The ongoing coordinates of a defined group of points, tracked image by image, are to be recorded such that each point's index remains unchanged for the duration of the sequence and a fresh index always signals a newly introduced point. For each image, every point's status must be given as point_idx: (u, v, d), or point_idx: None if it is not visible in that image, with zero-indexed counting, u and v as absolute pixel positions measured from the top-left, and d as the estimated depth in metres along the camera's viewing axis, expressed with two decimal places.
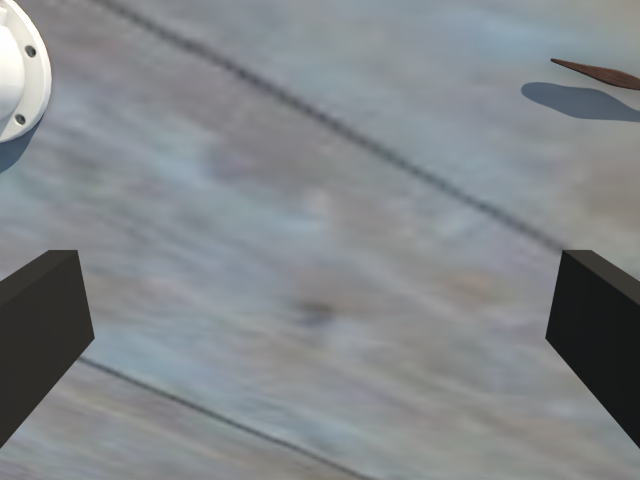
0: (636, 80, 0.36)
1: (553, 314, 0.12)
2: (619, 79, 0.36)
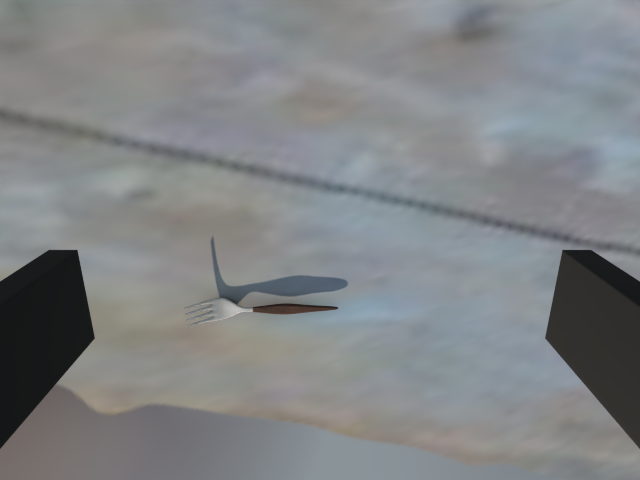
0: (270, 312, 0.48)
1: (553, 314, 0.12)
2: (283, 310, 0.48)
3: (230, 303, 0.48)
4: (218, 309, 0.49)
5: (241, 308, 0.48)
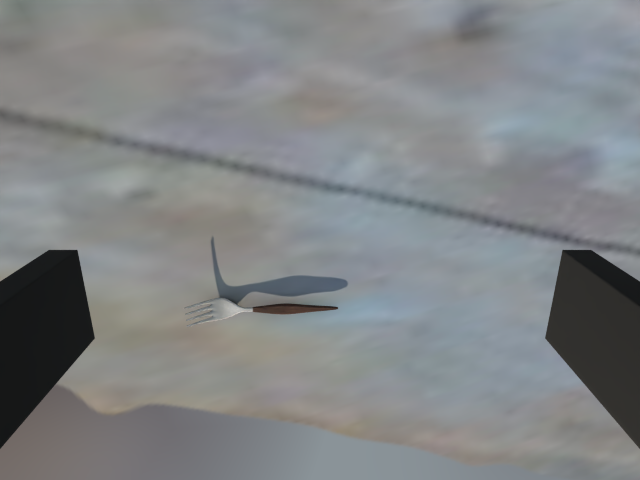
0: (270, 312, 0.48)
1: (553, 314, 0.12)
2: (283, 310, 0.48)
3: (230, 303, 0.48)
4: (218, 309, 0.49)
5: (241, 308, 0.48)
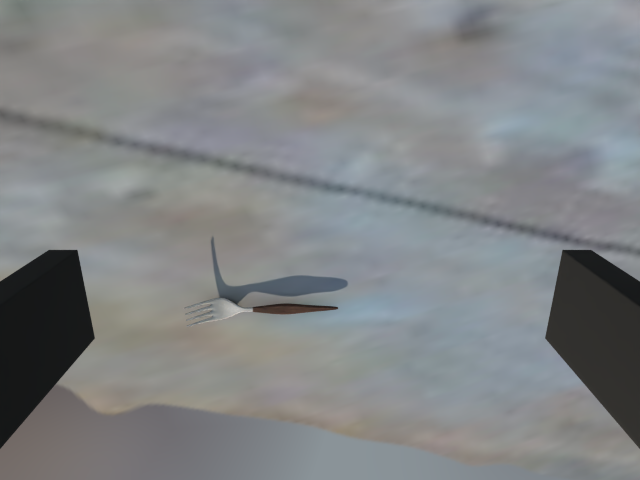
0: (270, 312, 0.48)
1: (553, 314, 0.12)
2: (283, 310, 0.48)
3: (230, 303, 0.48)
4: (218, 309, 0.49)
5: (241, 308, 0.48)
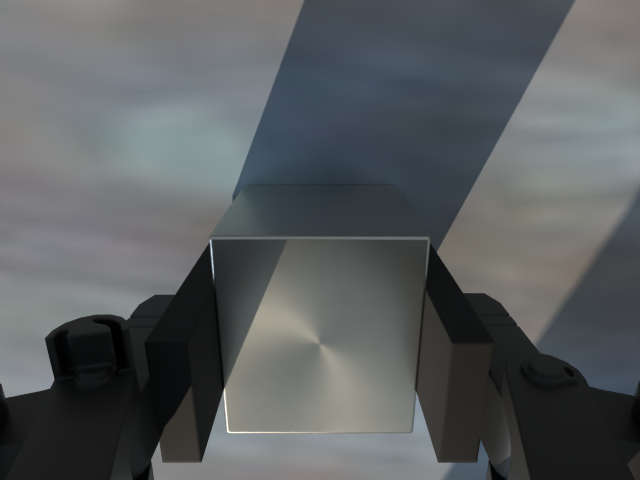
0: None
1: None
2: None
3: None
4: None
5: None
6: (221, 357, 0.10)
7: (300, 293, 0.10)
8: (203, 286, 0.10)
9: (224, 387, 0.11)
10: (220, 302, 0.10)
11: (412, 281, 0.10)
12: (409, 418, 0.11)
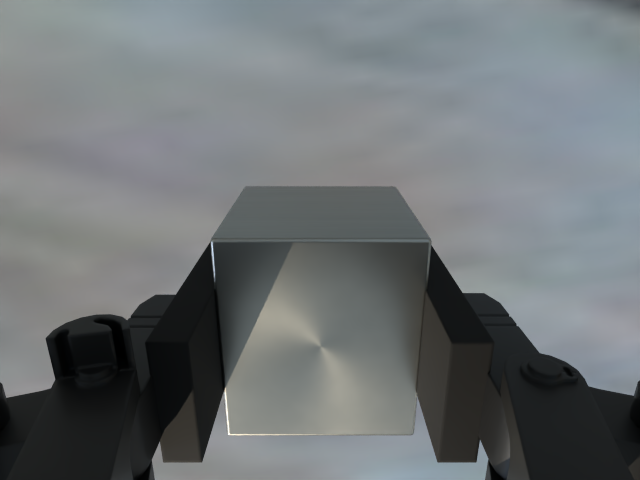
0: None
1: None
2: None
3: None
4: None
5: None
6: (222, 359, 0.10)
7: (301, 295, 0.10)
8: (203, 286, 0.10)
9: (225, 389, 0.11)
10: (221, 304, 0.10)
11: (413, 283, 0.10)
12: (410, 420, 0.11)
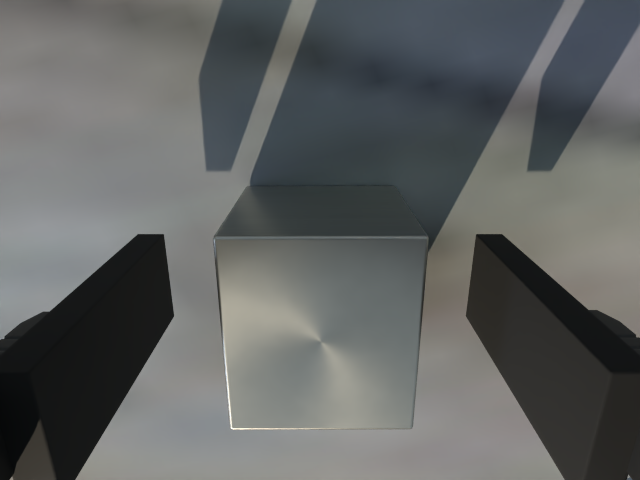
0: None
1: (470, 293, 0.14)
2: None
3: None
4: None
5: None
6: (225, 355, 0.11)
7: (301, 292, 0.10)
8: (82, 304, 0.09)
9: (228, 384, 0.11)
10: (224, 301, 0.10)
11: (411, 279, 0.10)
12: (409, 414, 0.11)
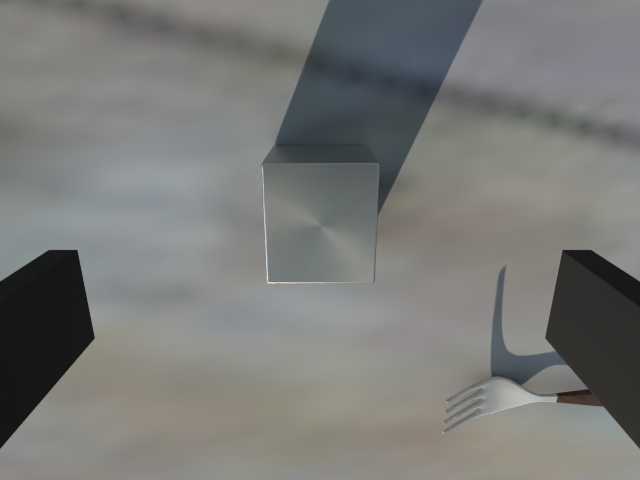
0: (590, 402, 0.26)
1: (553, 314, 0.12)
2: None
3: (514, 386, 0.26)
4: (490, 397, 0.26)
5: (535, 396, 0.26)
6: (265, 234, 0.19)
7: (309, 195, 0.18)
8: None
9: (266, 253, 0.19)
10: (266, 201, 0.18)
11: (370, 188, 0.18)
12: (372, 273, 0.19)
